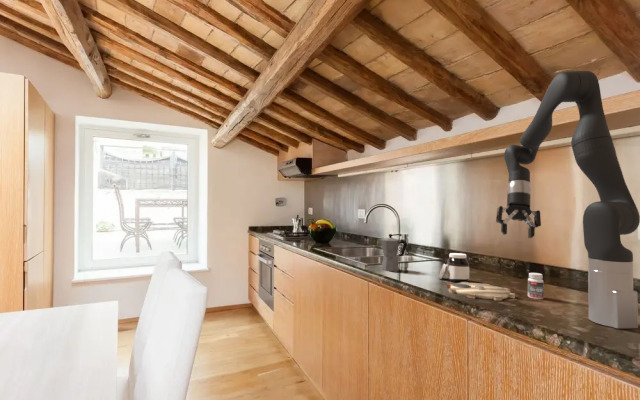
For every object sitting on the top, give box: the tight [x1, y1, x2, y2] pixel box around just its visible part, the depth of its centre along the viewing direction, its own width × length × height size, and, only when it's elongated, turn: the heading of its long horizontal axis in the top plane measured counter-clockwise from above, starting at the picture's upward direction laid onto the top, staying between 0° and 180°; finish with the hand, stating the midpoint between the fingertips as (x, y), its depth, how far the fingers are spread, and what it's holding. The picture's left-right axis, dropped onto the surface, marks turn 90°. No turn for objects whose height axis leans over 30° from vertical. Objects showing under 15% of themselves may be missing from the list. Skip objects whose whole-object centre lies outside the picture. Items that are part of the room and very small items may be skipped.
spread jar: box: [438, 252, 470, 283], centre depth 141 cm, size 12×11×12 cm
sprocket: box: [446, 281, 516, 301], centre depth 121 cm, size 23×23×2 cm
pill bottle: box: [527, 272, 545, 300], centre depth 115 cm, size 5×5×8 cm
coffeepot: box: [378, 233, 408, 272], centre depth 165 cm, size 15×9×18 cm, turn 51°
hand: (517, 236), depth 119 cm, fingers open, 8 cm apart
